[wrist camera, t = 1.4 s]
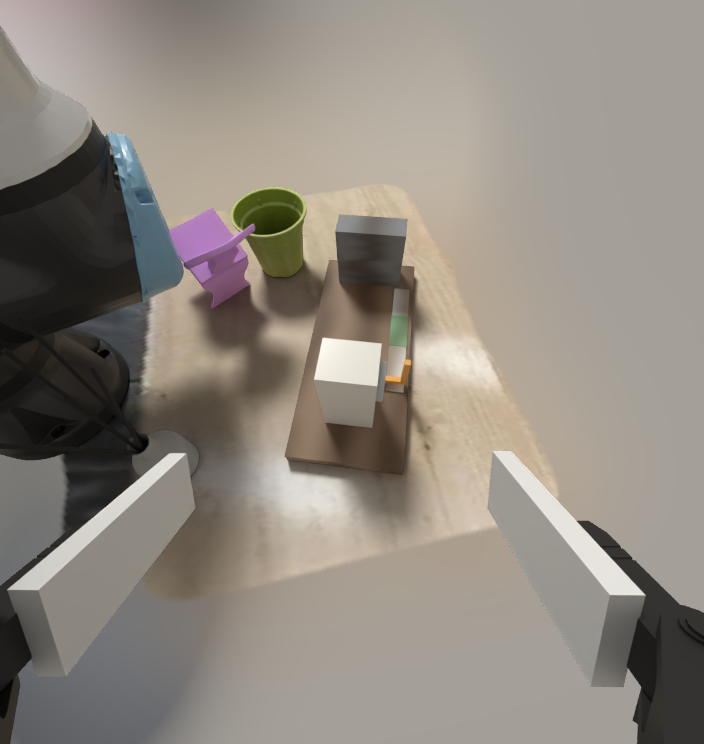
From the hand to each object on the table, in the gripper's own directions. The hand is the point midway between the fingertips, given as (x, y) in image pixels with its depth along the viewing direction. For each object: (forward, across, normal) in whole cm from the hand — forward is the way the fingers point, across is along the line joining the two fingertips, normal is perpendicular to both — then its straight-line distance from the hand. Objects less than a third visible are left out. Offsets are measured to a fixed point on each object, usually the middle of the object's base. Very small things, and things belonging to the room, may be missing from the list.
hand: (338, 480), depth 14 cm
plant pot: (+38, -10, +12) cm, 41 cm away
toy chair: (+33, -20, +11) cm, 40 cm away
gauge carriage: (+21, 0, -4) cm, 21 cm away
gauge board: (+27, +1, 0) cm, 27 cm away
